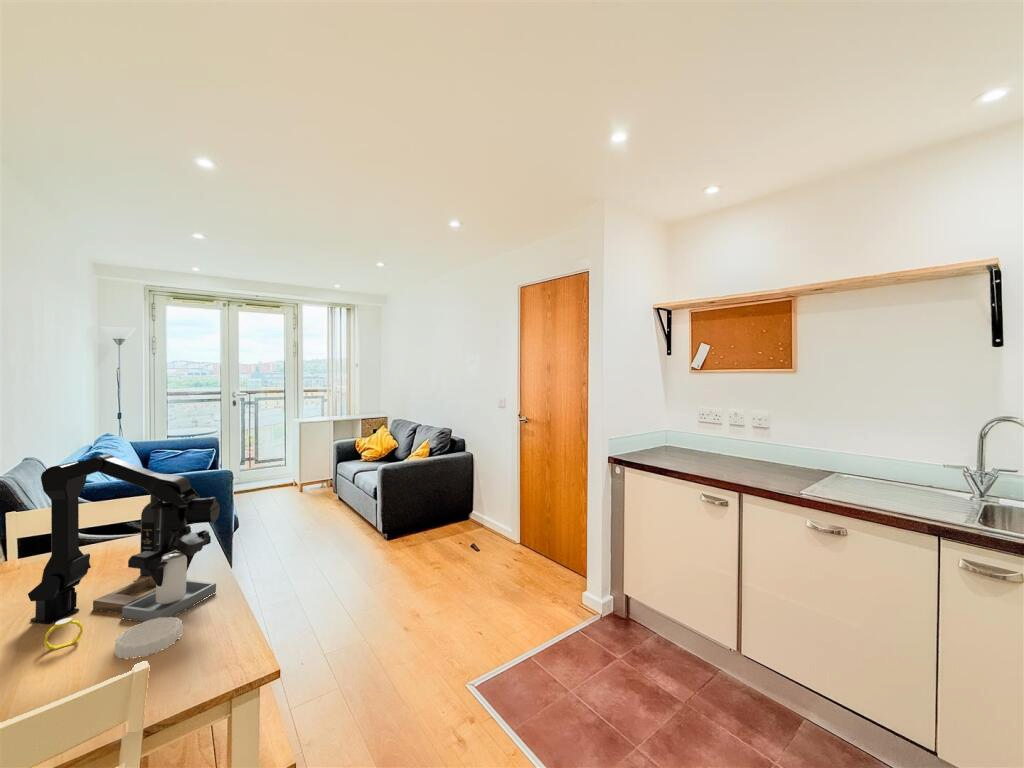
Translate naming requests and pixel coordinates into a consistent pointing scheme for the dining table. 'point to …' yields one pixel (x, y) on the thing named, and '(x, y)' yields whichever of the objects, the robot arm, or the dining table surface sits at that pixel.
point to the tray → (152, 610)
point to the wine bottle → (149, 529)
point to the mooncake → (148, 637)
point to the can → (173, 579)
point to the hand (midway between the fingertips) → (171, 580)
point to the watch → (61, 624)
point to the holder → (124, 596)
